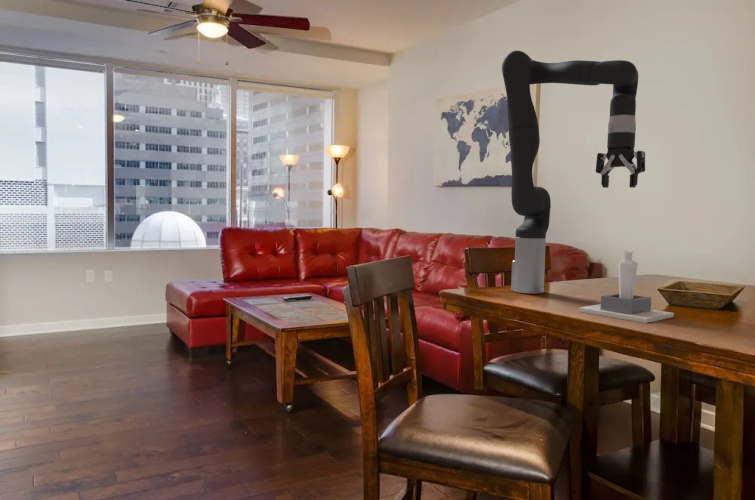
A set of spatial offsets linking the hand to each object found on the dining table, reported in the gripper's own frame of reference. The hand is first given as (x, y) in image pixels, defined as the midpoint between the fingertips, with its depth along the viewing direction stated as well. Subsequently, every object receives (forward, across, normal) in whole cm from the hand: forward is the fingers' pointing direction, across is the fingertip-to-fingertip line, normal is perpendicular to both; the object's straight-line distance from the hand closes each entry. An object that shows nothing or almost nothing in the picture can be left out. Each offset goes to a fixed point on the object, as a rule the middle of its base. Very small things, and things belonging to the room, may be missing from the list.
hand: (618, 187), depth 176 cm
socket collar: (+33, +16, -22) cm, 43 cm away
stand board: (+33, +16, -22) cm, 43 cm away
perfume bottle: (+32, +16, -22) cm, 42 cm away
